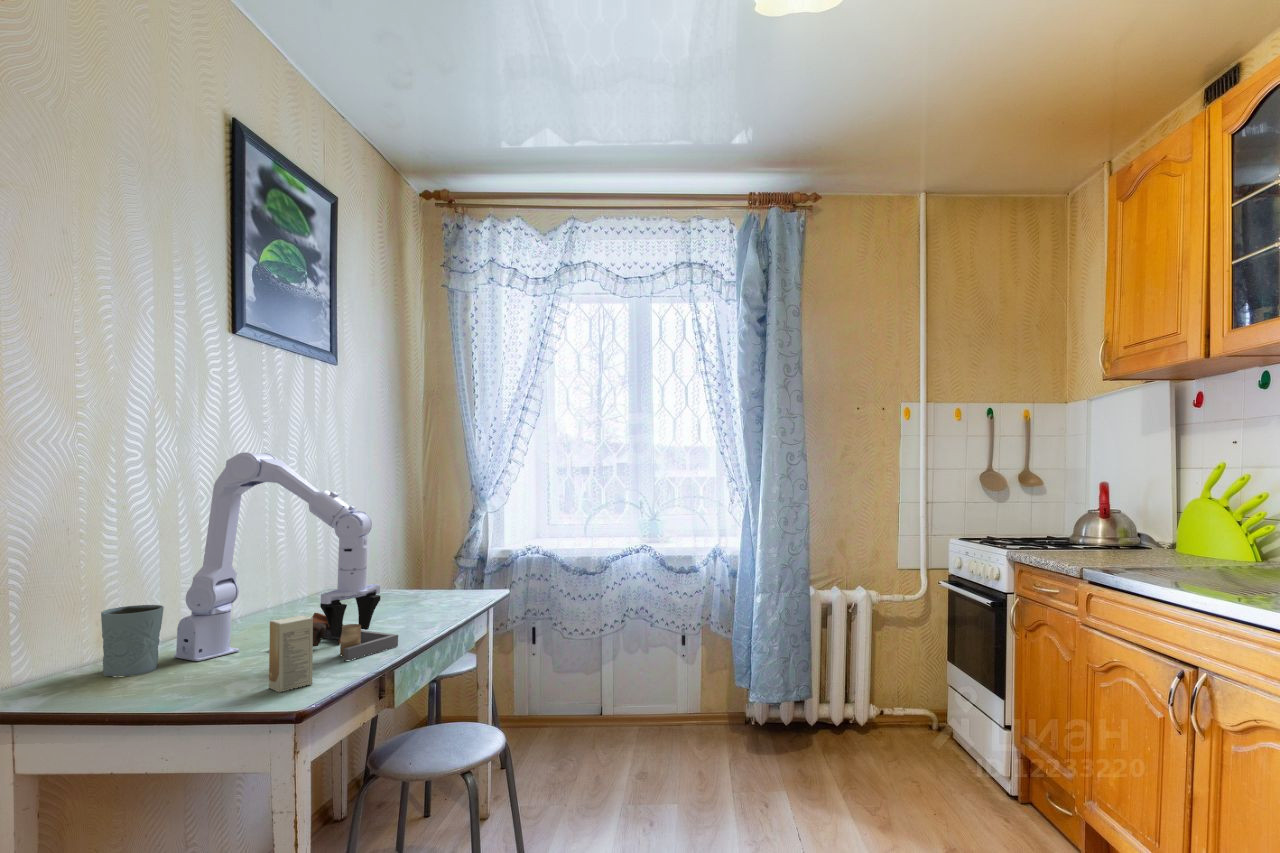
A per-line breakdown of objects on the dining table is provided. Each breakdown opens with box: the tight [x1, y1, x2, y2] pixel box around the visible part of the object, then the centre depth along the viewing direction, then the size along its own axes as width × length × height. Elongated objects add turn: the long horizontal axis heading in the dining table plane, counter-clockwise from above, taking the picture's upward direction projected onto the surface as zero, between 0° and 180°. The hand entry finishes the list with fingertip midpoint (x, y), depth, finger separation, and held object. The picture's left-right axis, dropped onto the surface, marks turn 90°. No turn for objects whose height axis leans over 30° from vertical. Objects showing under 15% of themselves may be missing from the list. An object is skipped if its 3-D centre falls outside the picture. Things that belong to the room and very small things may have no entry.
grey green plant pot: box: [100, 604, 165, 677], centre depth 140 cm, size 10×10×12 cm
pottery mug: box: [310, 612, 344, 648], centre depth 160 cm, size 12×10×8 cm
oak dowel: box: [339, 623, 362, 657], centre depth 153 cm, size 4×4×6 cm
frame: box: [321, 629, 399, 661], centre depth 158 cm, size 14×22×2 cm, turn 65°
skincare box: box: [268, 615, 314, 693], centre depth 130 cm, size 6×4×12 cm
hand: (350, 632), depth 153 cm, fingers open, 7 cm apart
